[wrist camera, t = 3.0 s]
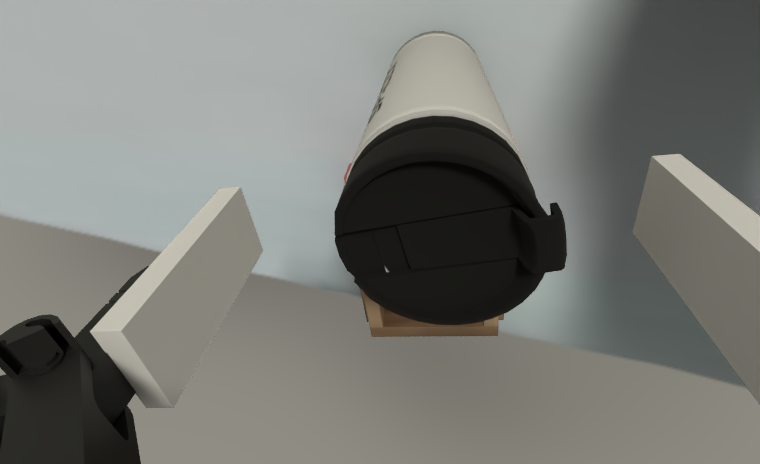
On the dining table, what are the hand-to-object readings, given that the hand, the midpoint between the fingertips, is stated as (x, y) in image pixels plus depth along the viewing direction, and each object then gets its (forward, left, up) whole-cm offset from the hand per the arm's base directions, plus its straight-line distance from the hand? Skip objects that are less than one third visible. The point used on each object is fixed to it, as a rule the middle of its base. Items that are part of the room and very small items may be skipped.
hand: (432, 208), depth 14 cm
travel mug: (0, 0, -17) cm, 17 cm away
